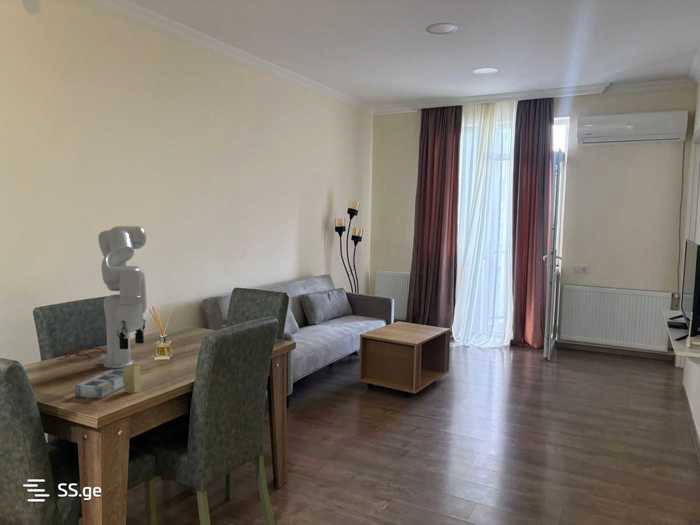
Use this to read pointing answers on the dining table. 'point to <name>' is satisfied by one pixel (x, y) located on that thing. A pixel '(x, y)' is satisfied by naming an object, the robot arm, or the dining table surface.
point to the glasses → (80, 350)
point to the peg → (132, 378)
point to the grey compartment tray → (101, 385)
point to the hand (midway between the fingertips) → (131, 346)
